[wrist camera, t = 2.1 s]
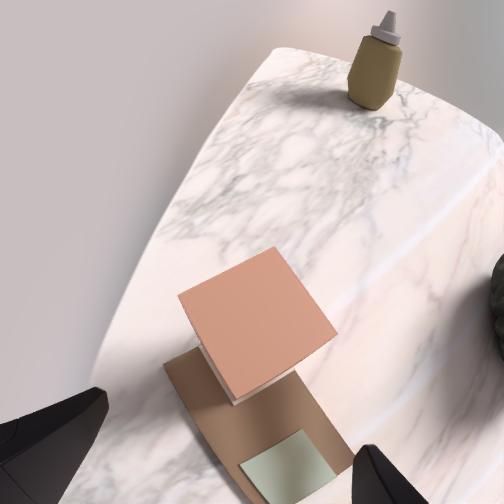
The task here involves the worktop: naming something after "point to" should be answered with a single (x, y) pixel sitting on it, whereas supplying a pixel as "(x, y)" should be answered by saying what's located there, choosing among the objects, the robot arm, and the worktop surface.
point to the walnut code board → (262, 431)
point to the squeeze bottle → (376, 65)
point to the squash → (498, 301)
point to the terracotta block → (255, 321)
